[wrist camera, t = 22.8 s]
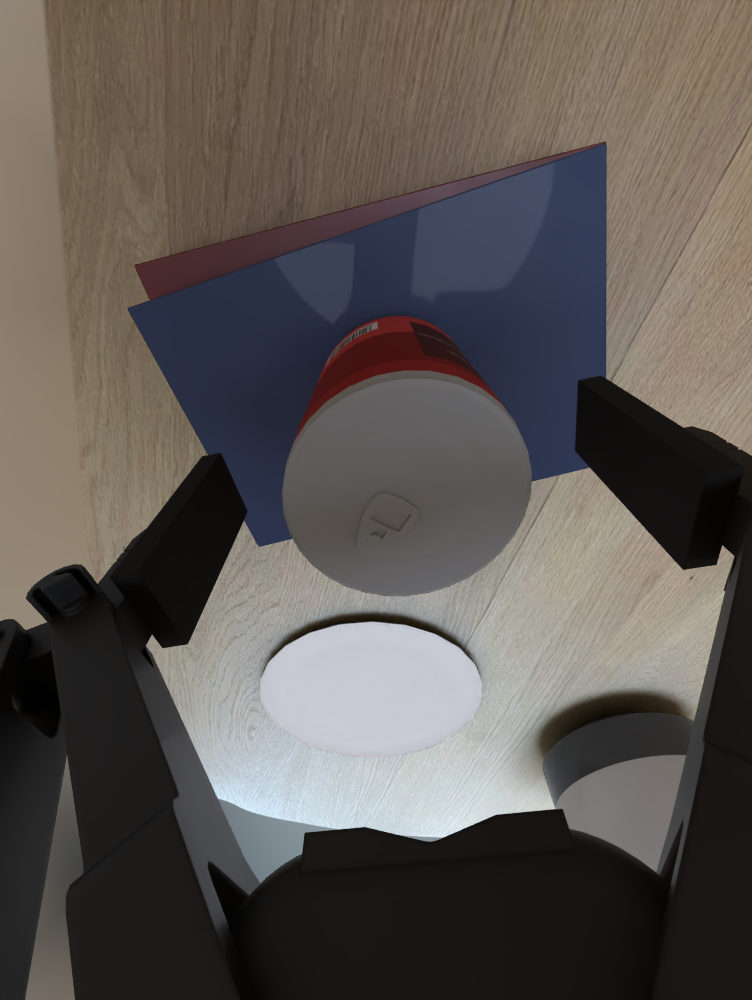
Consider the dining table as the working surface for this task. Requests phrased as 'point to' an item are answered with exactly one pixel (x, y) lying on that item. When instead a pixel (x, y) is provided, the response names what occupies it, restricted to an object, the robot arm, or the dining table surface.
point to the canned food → (404, 464)
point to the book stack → (390, 311)
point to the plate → (371, 689)
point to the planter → (621, 779)
